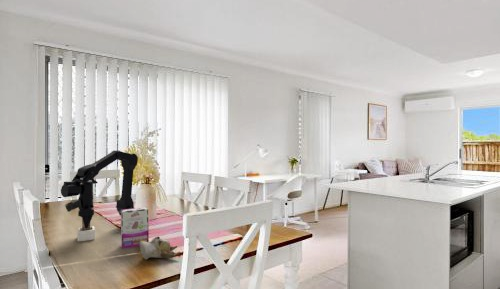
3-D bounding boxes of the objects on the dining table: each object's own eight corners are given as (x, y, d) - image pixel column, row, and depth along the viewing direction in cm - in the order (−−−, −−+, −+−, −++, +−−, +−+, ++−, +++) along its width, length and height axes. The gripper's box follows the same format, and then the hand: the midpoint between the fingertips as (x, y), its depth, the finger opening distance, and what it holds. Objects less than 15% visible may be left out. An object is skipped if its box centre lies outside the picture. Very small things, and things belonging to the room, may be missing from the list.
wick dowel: (90, 230, 148) (90, 211, 147) (90, 232, 145) (90, 212, 144) (82, 231, 146) (82, 212, 146) (82, 233, 143) (82, 213, 143)
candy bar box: (147, 242, 141) (147, 206, 141) (148, 245, 137) (148, 208, 137) (120, 246, 136) (120, 209, 136) (121, 249, 132) (121, 211, 131)
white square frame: (94, 235, 150) (94, 226, 150) (94, 239, 144) (94, 229, 144) (78, 237, 147) (78, 228, 147) (77, 241, 141) (77, 231, 141)
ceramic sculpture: (140, 233, 126) (178, 232, 131) (139, 254, 126) (176, 252, 131) (139, 241, 116) (179, 240, 120) (137, 264, 116) (178, 262, 120)
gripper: (67, 192, 150) (67, 224, 150) (65, 198, 133) (65, 234, 133) (93, 190, 155) (93, 221, 155) (94, 196, 138) (94, 231, 138)
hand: (86, 227), depth 145 cm, fingers closed on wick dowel, 3 cm apart
